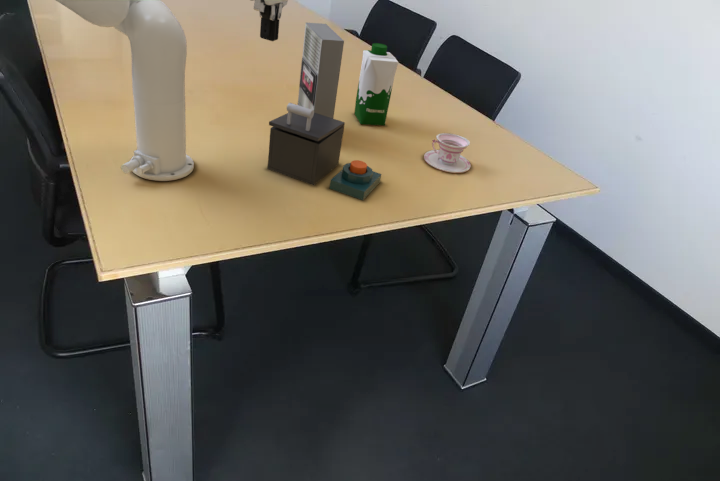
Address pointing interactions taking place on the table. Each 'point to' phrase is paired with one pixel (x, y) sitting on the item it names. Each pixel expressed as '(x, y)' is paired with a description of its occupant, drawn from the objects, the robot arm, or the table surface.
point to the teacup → (449, 153)
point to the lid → (306, 123)
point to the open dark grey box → (303, 155)
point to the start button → (358, 167)
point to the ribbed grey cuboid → (320, 69)
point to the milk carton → (375, 85)
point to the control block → (355, 182)
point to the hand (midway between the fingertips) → (268, 38)
